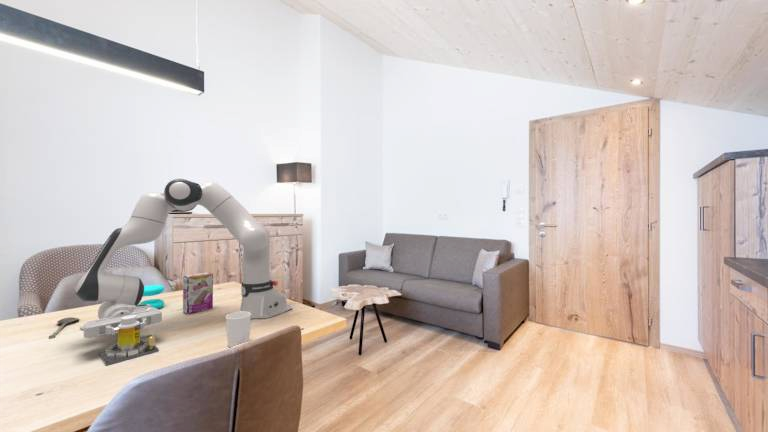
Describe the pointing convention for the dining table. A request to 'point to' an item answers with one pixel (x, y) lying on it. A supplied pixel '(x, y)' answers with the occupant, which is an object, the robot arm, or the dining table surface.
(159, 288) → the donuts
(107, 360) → the dock
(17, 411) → the dining table surface
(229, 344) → the white cup
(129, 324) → the supplement bottle
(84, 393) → the dining table surface
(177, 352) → the dining table surface
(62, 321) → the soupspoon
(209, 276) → the candy bar box
